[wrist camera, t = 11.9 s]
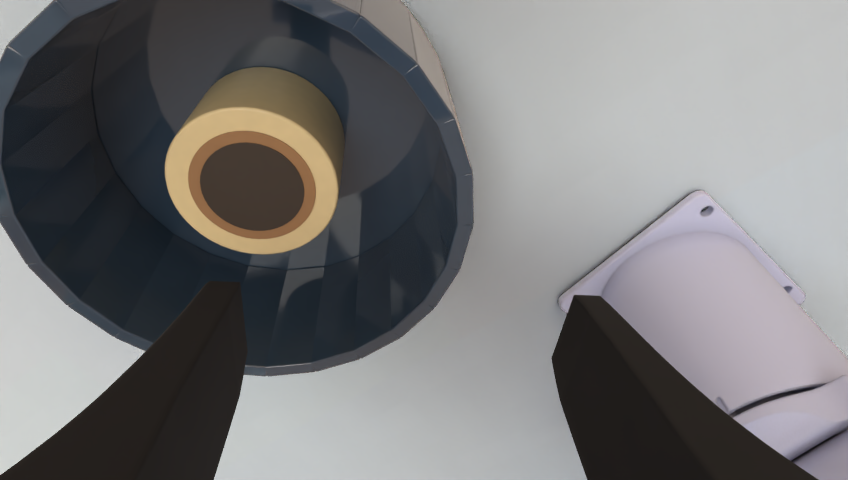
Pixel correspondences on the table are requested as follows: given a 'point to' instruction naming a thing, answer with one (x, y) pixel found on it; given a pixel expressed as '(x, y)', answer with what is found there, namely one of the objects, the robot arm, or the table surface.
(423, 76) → the dark round bowl
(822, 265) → the table surface
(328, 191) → the tape roll
